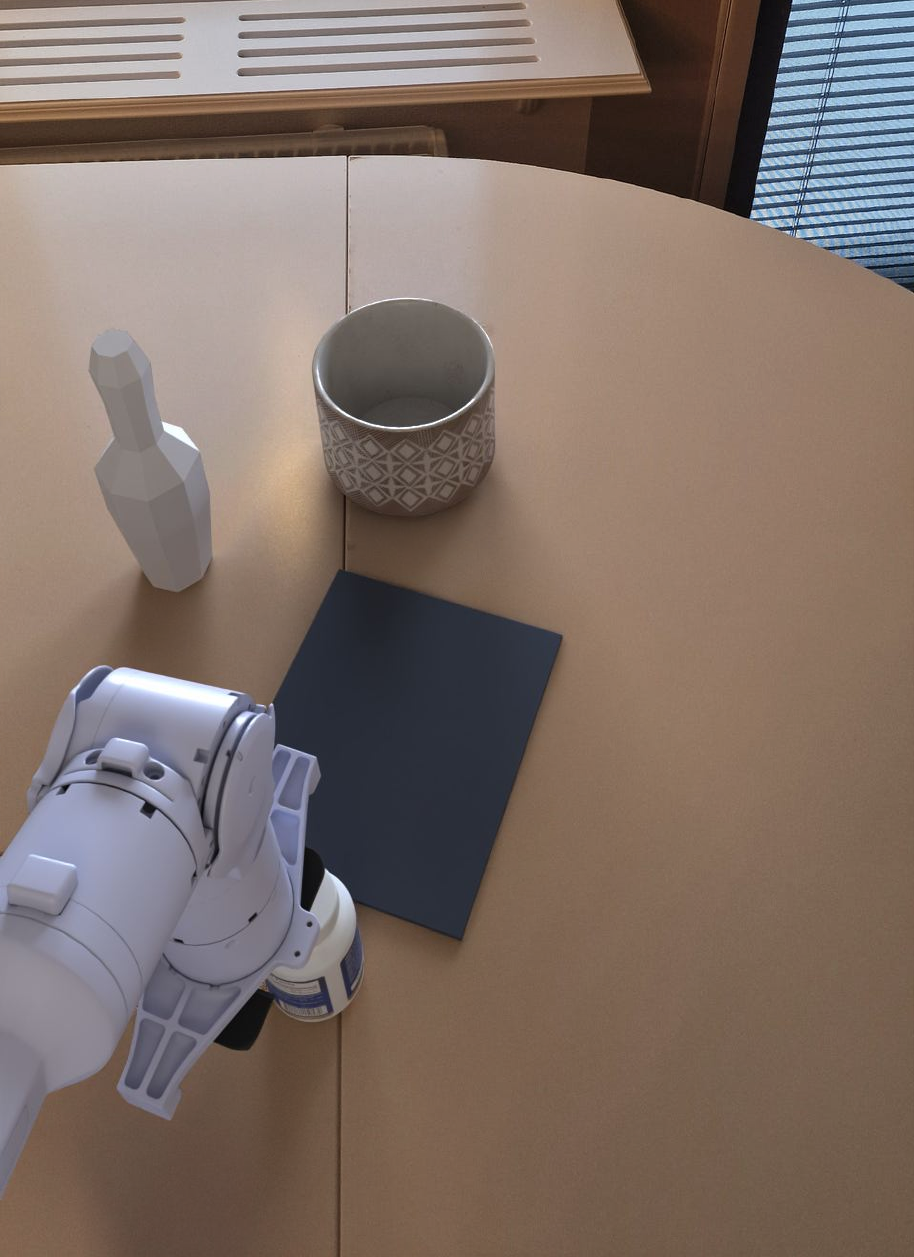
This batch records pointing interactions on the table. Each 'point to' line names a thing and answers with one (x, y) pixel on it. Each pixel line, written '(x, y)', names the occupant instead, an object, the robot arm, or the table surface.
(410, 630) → the mat
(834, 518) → the table surface
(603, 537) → the table surface
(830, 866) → the table surface
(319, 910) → the pill bottle
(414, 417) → the planter
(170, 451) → the faceted bottle
